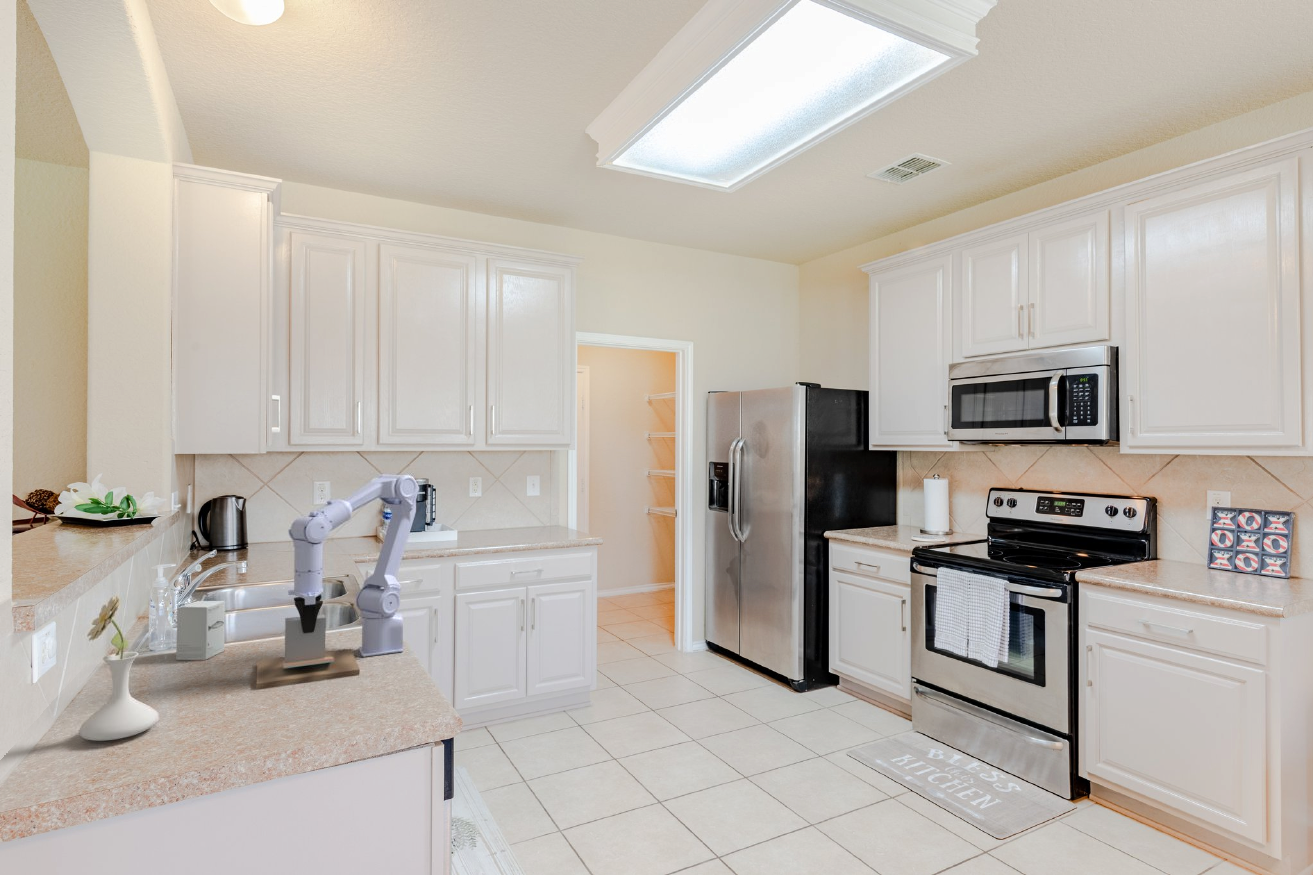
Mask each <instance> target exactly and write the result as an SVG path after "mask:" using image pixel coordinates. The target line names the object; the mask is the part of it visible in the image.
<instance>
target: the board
mask: <svg viewBox="0 0 1313 875" xmlns="http://www.w3.org/2000/svg"><path fill="white" fill-rule="evenodd" d="M325 657H333V658H334V662H329V663H321V664H314V665H306V666H299V667H291V668H284V669H283V663H285V656H282V657H272V658H267V659H259V660H256V662H257V663H256V690H261V689H263V690H264V689H271V688H276V687H284V686H291V685H296V684H303V683H311V682H318V681H325V680H324V679H326V680H332V679H333V680H334V679H339V678H347V677H352V676H359V674H360V673H361V672H360V667H359V664H358V663H357V660H356V657H355V654H354V652H353V651H352V648H346V649H345V648H344V649H337V650H329V651H325Z"/></svg>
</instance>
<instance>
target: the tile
mask: <svg viewBox="0 0 1313 875" xmlns="http://www.w3.org/2000/svg"><path fill="white" fill-rule="evenodd" d="M329 662H334V658H333V657H325V658H319V659H311V660H303V661H295V662H287V663H283V669H284V668H291V667H299V666H306V665H314V664H321V663H329Z"/></svg>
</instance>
